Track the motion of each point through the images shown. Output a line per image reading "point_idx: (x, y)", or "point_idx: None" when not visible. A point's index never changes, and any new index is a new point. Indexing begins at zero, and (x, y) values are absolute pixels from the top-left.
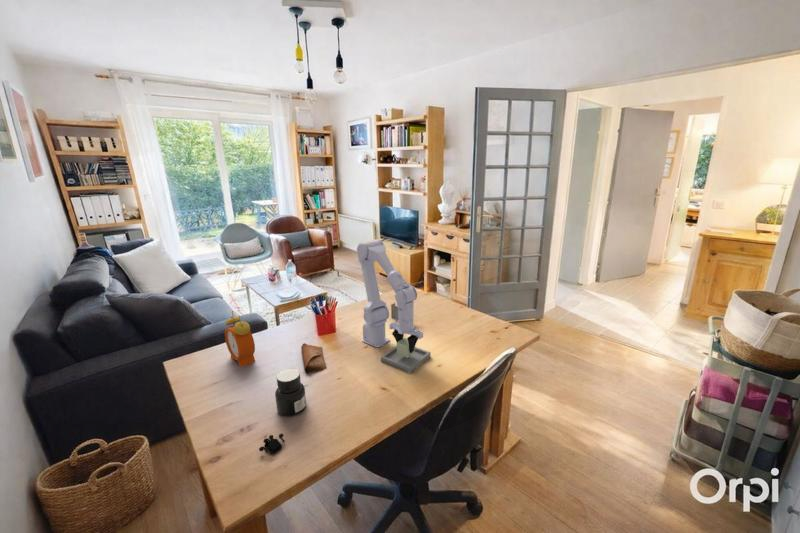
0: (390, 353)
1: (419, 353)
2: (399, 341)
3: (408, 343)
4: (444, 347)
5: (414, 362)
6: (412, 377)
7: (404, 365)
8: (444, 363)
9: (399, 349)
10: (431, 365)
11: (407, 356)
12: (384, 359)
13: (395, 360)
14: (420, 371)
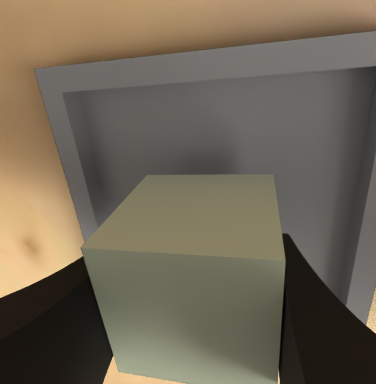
0: (365, 172)
1: None
2: (261, 298)
3: (126, 307)
4: (132, 379)
5: (123, 188)
6: (20, 37)
7: (105, 76)
8: (32, 275)
9: (233, 202)
10: (56, 228)
11: (141, 182)
12: (362, 33)
13: (259, 120)
14: (45, 138)
